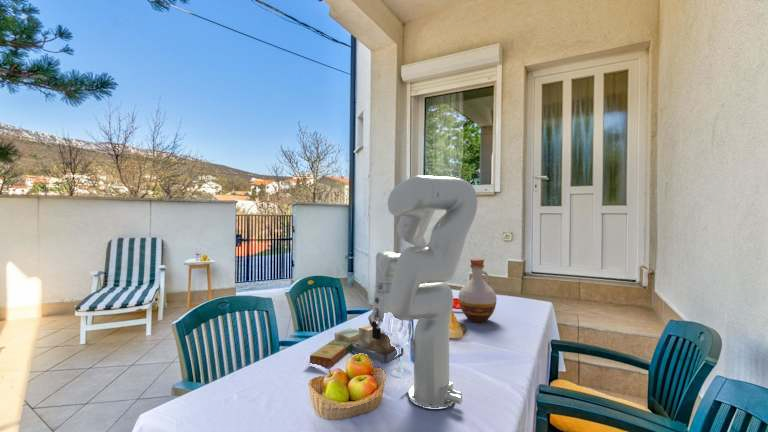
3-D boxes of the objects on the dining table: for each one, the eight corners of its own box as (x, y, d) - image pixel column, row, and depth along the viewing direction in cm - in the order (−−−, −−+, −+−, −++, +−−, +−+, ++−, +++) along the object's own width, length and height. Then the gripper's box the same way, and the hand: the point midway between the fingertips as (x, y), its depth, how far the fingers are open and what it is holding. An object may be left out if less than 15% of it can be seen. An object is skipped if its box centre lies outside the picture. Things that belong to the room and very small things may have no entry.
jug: (474, 312, 173) (474, 255, 174) (505, 320, 160) (505, 258, 160) (450, 319, 161) (450, 258, 161) (482, 328, 147) (482, 261, 148)
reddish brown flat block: (309, 367, 108) (309, 354, 108) (332, 350, 123) (332, 338, 123) (331, 371, 105) (331, 358, 106) (353, 353, 120) (353, 341, 121)
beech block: (377, 348, 121) (378, 327, 121) (368, 353, 117) (368, 330, 117) (367, 345, 124) (367, 324, 124) (358, 349, 120) (358, 327, 120)
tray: (403, 356, 117) (403, 347, 117) (385, 365, 109) (385, 356, 109) (369, 345, 127) (369, 337, 127) (351, 353, 119) (351, 345, 119)
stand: (364, 345, 127) (364, 331, 127) (349, 351, 121) (349, 337, 121) (349, 340, 132) (349, 327, 132) (334, 346, 126) (334, 332, 126)
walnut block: (396, 354, 116) (396, 331, 116) (387, 359, 112) (387, 335, 112) (385, 351, 119) (385, 328, 119) (376, 355, 115) (376, 332, 115)
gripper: (378, 292, 107) (377, 345, 107) (408, 284, 120) (408, 330, 121) (361, 289, 112) (360, 339, 112) (392, 281, 125) (391, 326, 125)
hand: (385, 334), depth 116 cm, fingers open, 9 cm apart
